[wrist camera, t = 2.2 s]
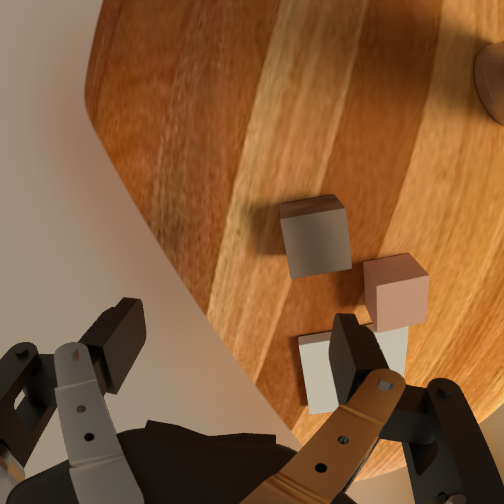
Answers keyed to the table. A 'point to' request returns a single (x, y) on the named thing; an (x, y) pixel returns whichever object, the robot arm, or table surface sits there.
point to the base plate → (319, 367)
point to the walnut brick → (315, 236)
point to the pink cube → (395, 292)
